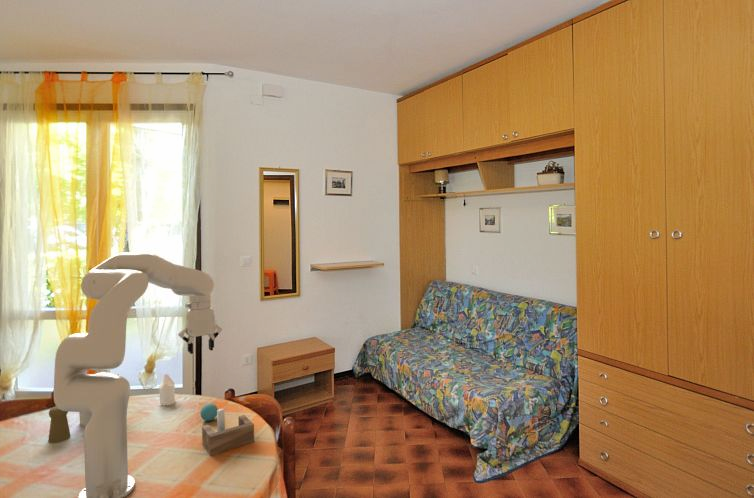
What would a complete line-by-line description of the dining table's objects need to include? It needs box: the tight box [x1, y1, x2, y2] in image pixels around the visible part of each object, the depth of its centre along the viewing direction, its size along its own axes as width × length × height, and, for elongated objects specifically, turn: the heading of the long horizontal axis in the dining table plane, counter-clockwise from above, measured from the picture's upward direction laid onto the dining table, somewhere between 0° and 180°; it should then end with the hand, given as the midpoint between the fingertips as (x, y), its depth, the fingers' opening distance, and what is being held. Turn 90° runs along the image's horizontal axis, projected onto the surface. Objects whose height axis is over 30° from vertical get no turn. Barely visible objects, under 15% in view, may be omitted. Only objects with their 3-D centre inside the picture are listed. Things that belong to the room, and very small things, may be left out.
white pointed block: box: [158, 373, 176, 407], centre depth 168 cm, size 6×12×6 cm
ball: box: [200, 403, 218, 422], centre depth 153 cm, size 6×6×6 cm
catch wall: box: [201, 414, 255, 457], centre depth 136 cm, size 9×14×6 cm, turn 128°
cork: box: [47, 405, 71, 444], centre depth 139 cm, size 6×6×11 cm
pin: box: [216, 408, 226, 432], centre depth 142 cm, size 2×2×8 cm
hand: (201, 351), depth 159 cm, fingers open, 6 cm apart
